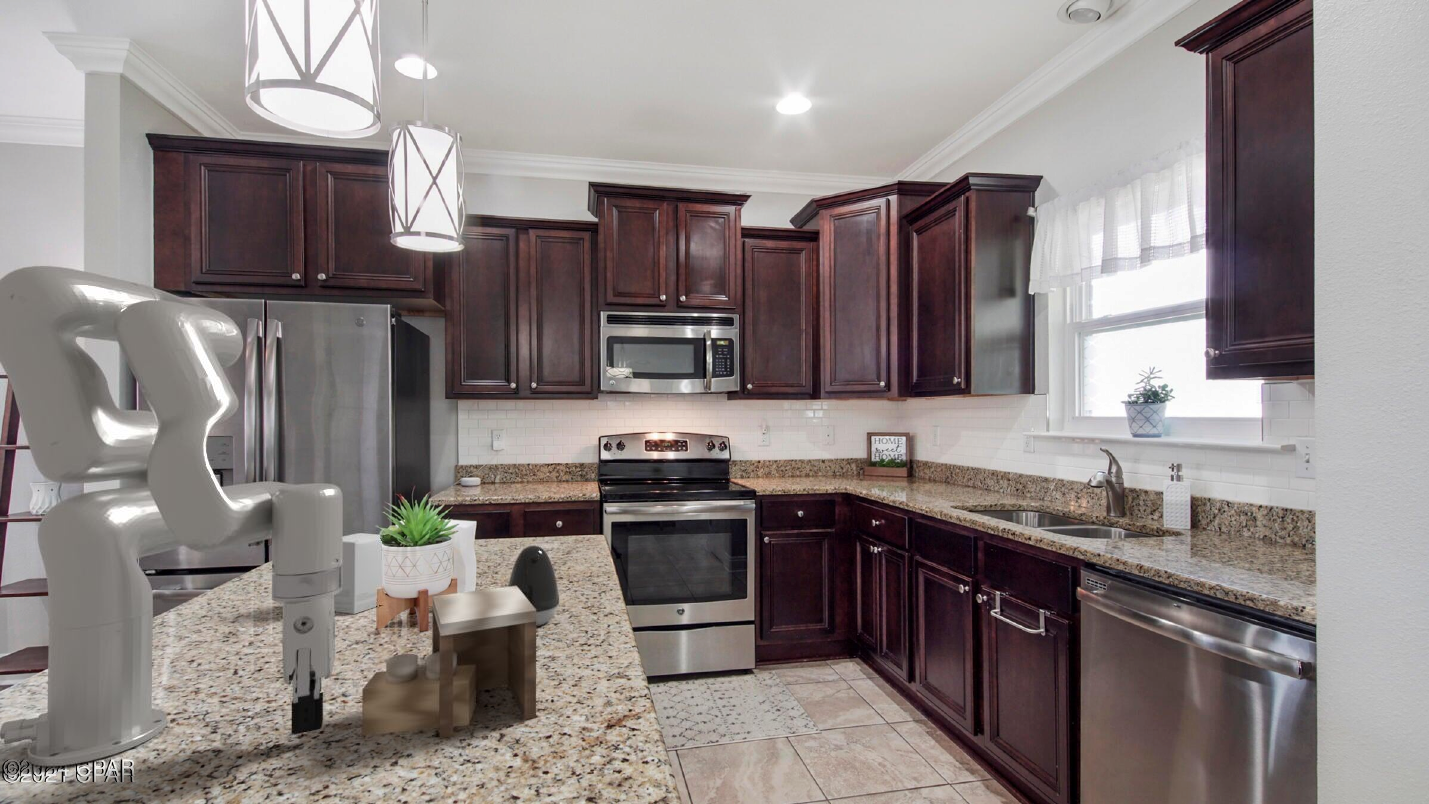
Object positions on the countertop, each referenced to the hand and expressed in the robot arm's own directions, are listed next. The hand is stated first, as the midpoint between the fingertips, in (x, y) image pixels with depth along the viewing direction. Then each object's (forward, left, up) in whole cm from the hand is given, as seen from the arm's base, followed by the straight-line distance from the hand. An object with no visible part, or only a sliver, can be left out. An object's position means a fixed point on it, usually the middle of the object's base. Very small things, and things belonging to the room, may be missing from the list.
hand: (307, 728), depth 79 cm
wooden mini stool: (+21, 0, -2) cm, 21 cm away
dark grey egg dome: (+35, +33, -2) cm, 48 cm away
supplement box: (+4, +62, -2) cm, 62 cm away
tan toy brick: (+13, 0, -2) cm, 13 cm away
